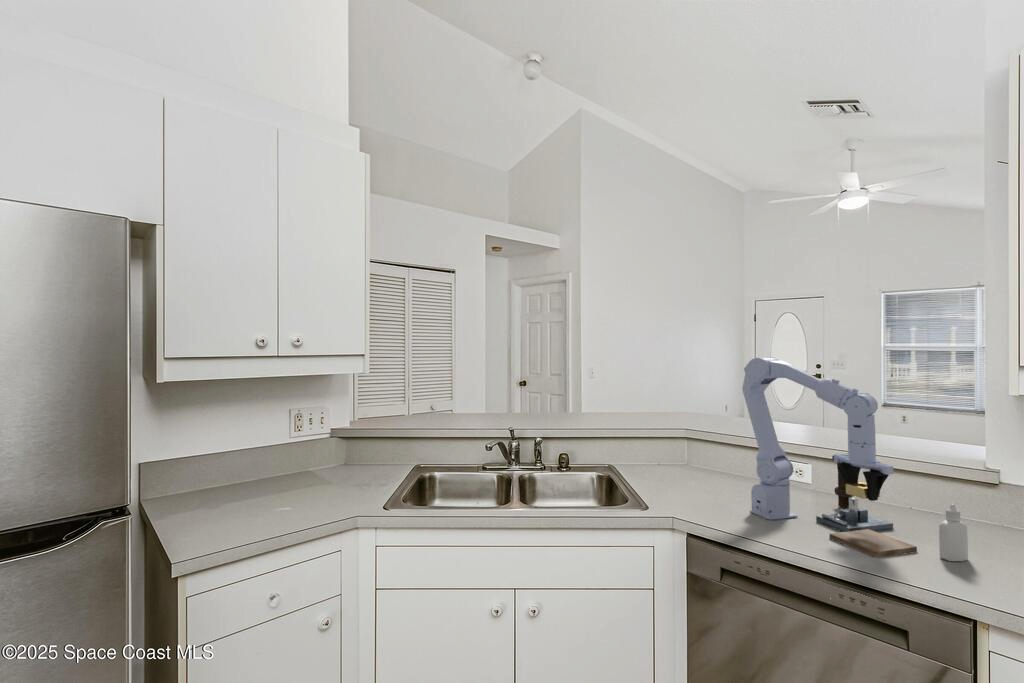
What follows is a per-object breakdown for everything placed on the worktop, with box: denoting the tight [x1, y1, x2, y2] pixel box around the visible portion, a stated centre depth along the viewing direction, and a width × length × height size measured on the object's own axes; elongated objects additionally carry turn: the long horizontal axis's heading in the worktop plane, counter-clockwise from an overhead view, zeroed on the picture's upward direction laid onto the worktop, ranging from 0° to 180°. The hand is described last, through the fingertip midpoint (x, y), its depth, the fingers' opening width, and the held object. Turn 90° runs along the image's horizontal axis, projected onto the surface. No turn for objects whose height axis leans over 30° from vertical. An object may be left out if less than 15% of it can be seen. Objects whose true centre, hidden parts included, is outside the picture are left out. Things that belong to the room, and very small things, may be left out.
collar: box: [846, 481, 881, 500], centre depth 128 cm, size 5×5×2 cm
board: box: [829, 529, 918, 559], centre depth 122 cm, size 12×12×1 cm
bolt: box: [832, 453, 854, 509], centre depth 151 cm, size 6×5×15 cm
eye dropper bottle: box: [938, 503, 969, 562], centre depth 114 cm, size 4×6×12 cm
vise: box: [815, 497, 894, 532], centre depth 136 cm, size 14×10×7 cm
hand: (862, 497), depth 128 cm, fingers closed on collar, 5 cm apart
